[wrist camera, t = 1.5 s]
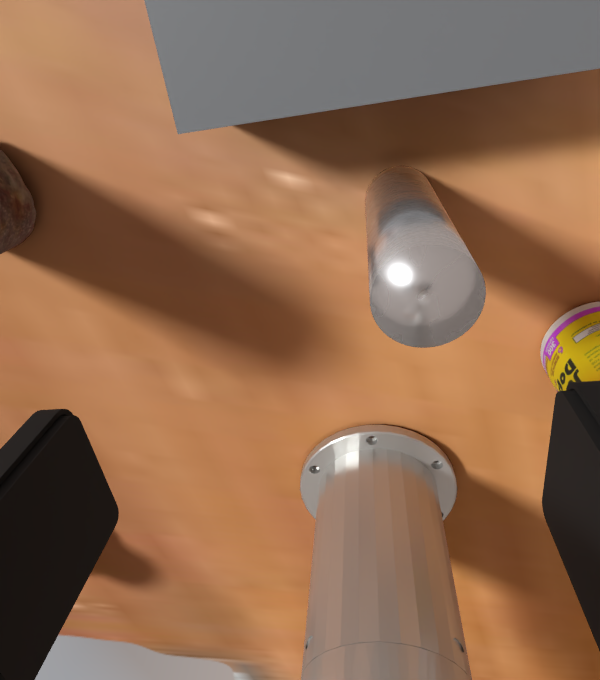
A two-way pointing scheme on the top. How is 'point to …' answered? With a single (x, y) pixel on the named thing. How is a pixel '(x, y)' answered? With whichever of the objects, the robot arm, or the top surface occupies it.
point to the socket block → (356, 52)
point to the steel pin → (418, 263)
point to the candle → (14, 206)
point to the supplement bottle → (573, 347)
